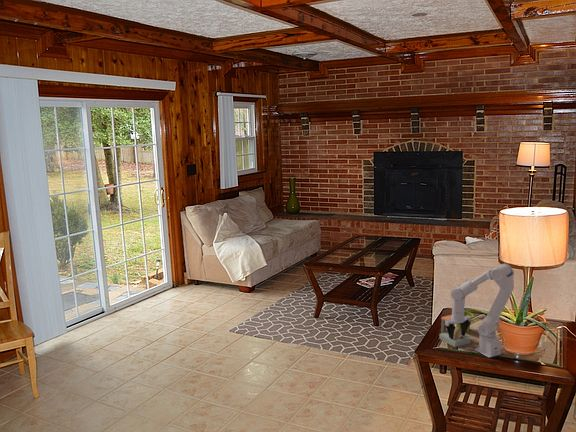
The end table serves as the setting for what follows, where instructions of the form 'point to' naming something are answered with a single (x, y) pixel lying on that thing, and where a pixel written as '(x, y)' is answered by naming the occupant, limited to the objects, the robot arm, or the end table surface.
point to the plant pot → (469, 321)
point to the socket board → (454, 342)
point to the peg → (457, 333)
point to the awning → (443, 327)
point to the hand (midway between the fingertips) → (457, 336)
